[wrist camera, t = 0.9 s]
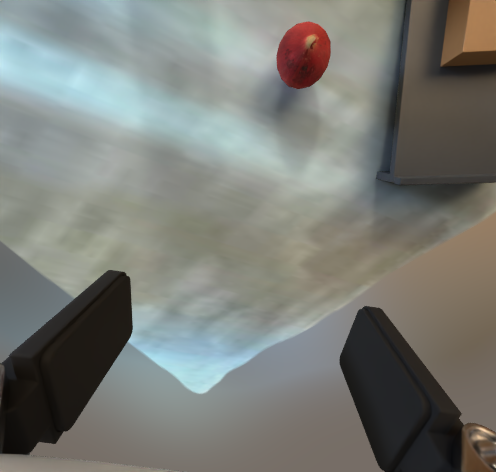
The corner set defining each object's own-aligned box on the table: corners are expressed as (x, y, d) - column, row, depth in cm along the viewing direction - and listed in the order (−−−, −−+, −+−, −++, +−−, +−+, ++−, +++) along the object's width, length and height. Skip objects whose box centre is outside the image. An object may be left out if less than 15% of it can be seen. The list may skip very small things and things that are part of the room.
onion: (311, 99, 31) (329, 84, 23) (269, 88, 30) (273, 69, 23) (327, 46, 28) (352, 10, 21) (281, 33, 28) (290, -7, 21)
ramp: (408, -25, 26) (451, -72, 20) (560, -34, 25) (646, -85, 20) (375, 178, 34) (399, 184, 28) (490, 175, 33) (537, 181, 28)
